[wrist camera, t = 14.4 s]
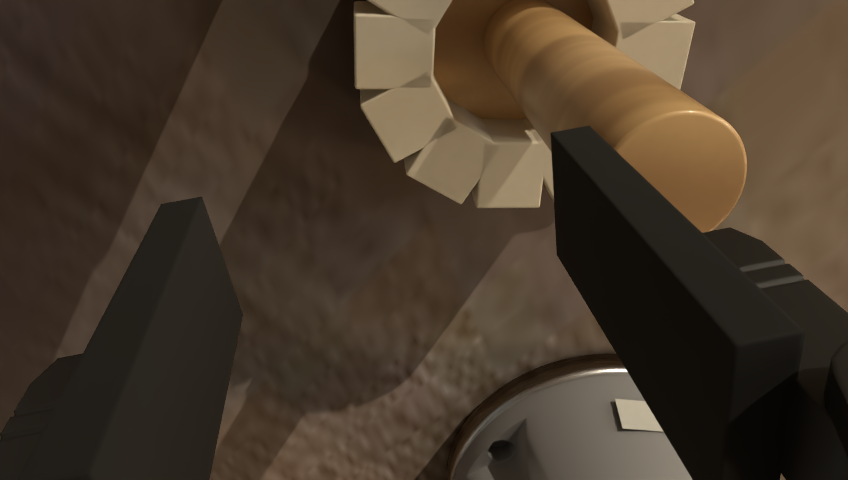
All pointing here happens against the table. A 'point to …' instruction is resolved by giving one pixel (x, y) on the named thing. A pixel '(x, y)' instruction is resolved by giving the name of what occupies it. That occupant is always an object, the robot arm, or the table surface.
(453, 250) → the table surface
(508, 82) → the post stand
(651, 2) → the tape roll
